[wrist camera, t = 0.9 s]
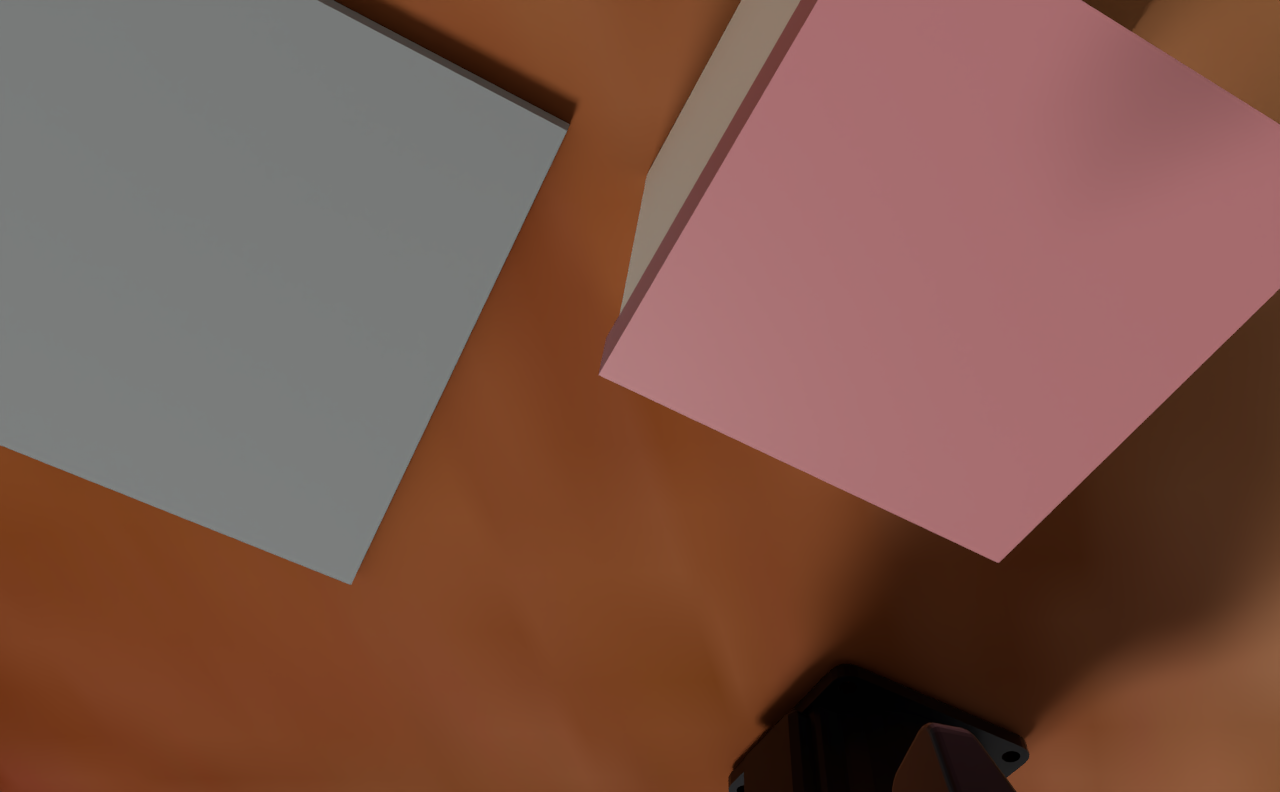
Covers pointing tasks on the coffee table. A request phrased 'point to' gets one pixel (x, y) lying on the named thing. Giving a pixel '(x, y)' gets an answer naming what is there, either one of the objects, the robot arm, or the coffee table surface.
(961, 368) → the pink-topped box
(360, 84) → the mat
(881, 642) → the coffee table surface
